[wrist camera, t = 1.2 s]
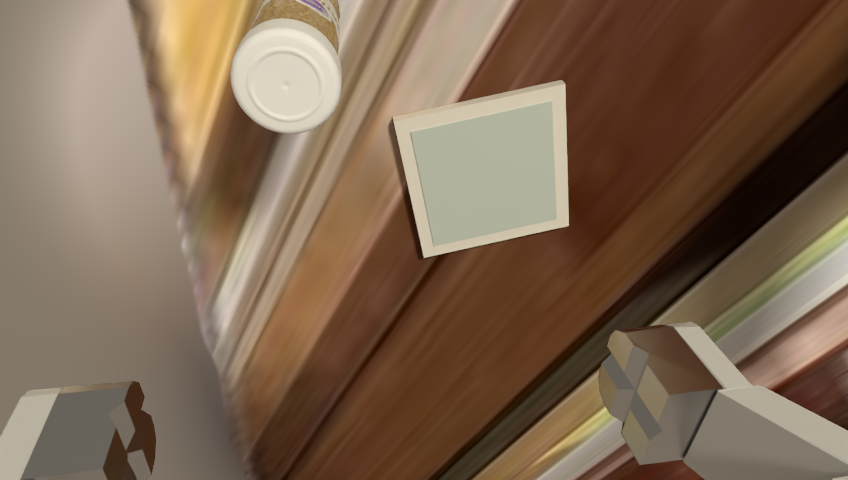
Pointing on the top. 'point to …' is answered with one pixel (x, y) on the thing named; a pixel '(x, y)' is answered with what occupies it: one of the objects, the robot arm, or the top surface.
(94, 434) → the robot arm
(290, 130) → the sprinkles bottle
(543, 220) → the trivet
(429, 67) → the top surface
